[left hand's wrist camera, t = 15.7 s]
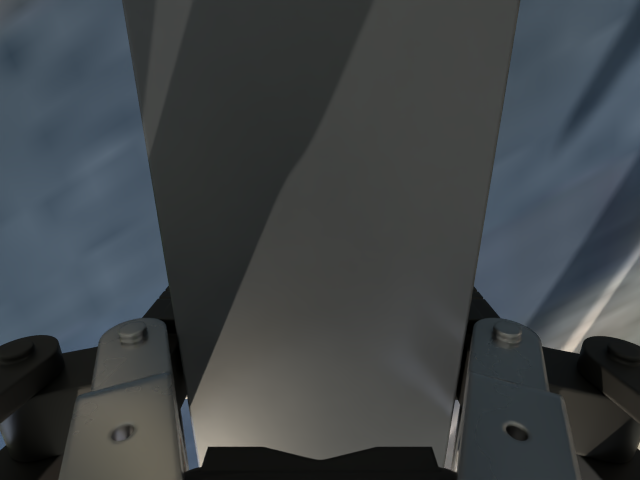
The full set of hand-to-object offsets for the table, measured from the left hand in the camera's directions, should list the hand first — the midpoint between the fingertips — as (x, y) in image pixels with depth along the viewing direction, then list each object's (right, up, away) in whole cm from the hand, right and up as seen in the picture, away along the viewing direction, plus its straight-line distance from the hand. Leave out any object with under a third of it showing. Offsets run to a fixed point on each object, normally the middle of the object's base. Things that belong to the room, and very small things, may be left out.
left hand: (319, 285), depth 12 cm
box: (0, +11, +3) cm, 11 cm away
